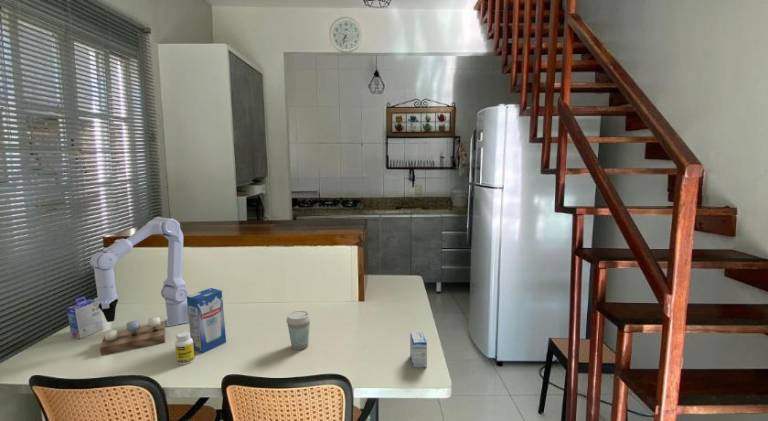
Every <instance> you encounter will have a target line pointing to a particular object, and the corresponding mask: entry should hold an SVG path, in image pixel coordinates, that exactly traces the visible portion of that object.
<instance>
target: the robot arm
mask: <svg viewBox="0 0 768 421" xmlns="http://www.w3.org/2000/svg"><path fill="white" fill-rule="evenodd" d="M152 235H161V236H163V237H164V238H165V239H166V240H168V243H167V244H168V245H167V246H168V247H167V248H168V250H167V269H166V270H167V276H166V279H165V280H164V281H163V285H162V288H161V290H160V295H161V297H162V298H164V302H165V309H166V327H173V326H176V325H177V326H178V325H182V324H189V316H188V306H187V297H186V296H189V294H188V293H189V292H188V289H187V283H186V282H185V280H184V279H183V263H184V261H183V260H184V258H183V257H184V256H183V255H184V234H183V231H182V229H181V222H179V221H177V220H176V219H175V218H169V217H168V218H167V217H161V216H157V217H154V218H153V219H152V220H149V221H148V222H147V223H146V224H145V225H144V226H142V227H141V228H140V229H138V230H137V231H135V232H134V233H132V235H129V237H127V238H126V239H125V238H120V239H116V240H114V242H113V243H112V244H110V245H109V246H108V247H104V248H103V249H102V251H98V252H96V253H94V254H92V256H91V257H90V260H89V261H88V262H89V265H90V266H91V267H92V268H93V270H94V279H95V286H96V291H97V292H96V294H97V297H95V298H94V299H93V300H94V301H98V302H99V303H100V304H99V305H98V306H99V308H100V310H101V313H102V314H103V315H104V318H105V320H106V323H111V322H115V319H116V308H117V304H118V302H119V299H118V296H119V295H118V293H117V287H116V286H117V285H116V278H115V271H114V267H115V266H116V263H117V261H119V260H121V259H122V258H124V257H125V256H126V255H127V254H129V253H131V252H132V251H133V247H134V246H136V245H137V244H139V243H140V242H142V241H143V240H145V239H147V238H148V237H151V236H152Z"/></svg>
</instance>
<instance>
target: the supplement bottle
mask: <svg viewBox="0 0 768 421" xmlns="http://www.w3.org/2000/svg"><path fill="white" fill-rule="evenodd" d="M174 344H175V354H176V355H175V356H176V362H177V364H178V365H181V366H182V365H188V364H191V363H193V362H194V361H195V350H194V348H193V340H192V338H191V335H190V331H181V332H178V333H177V334H176V341H175V343H174Z"/></svg>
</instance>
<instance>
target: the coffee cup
mask: <svg viewBox="0 0 768 421" xmlns="http://www.w3.org/2000/svg"><path fill="white" fill-rule="evenodd" d="M311 319H312V318H311V315H310V313H309V312H308V311H305V310H297V311H292V312H289V313H288V314H287V317H286V323H287V329H288V333H289V334H288V335H289V339H290V343H291V349H292V350H295V351H303V350H305V349H308V347H309V340H310V339H309V338H310V323H311Z"/></svg>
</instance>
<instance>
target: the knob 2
mask: <svg viewBox="0 0 768 421" xmlns="http://www.w3.org/2000/svg"><path fill="white" fill-rule="evenodd" d="M147 321H148V322H147V324H148V326H149V327H153V331H156V330H157V326H159V325H160V324H162V323H161V317H160V316H154V317H150V318H148V320H147Z"/></svg>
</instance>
